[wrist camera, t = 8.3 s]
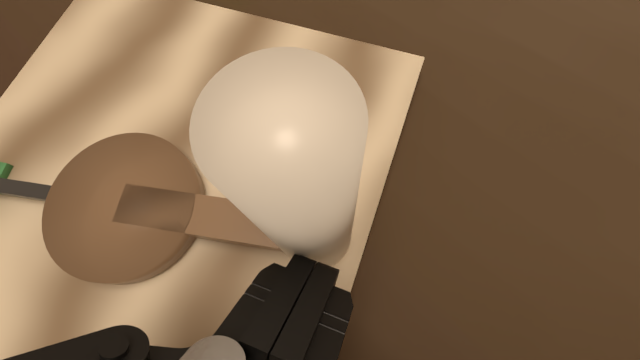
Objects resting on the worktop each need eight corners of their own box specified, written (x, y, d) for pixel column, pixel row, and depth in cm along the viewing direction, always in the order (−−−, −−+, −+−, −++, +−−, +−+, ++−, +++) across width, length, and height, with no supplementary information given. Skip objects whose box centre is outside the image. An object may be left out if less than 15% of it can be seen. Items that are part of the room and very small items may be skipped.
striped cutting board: (418, 74, 21) (426, 52, 19) (239, 641, 13) (223, 695, 11) (106, -6, 24) (88, -31, 22) (-183, 398, 16) (-247, 410, 15)
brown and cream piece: (359, 170, 17) (389, -29, 7) (338, 325, 15) (336, 369, 5) (-23, 120, 19) (-428, -87, 9) (-94, 247, 17) (-740, 160, 7)
